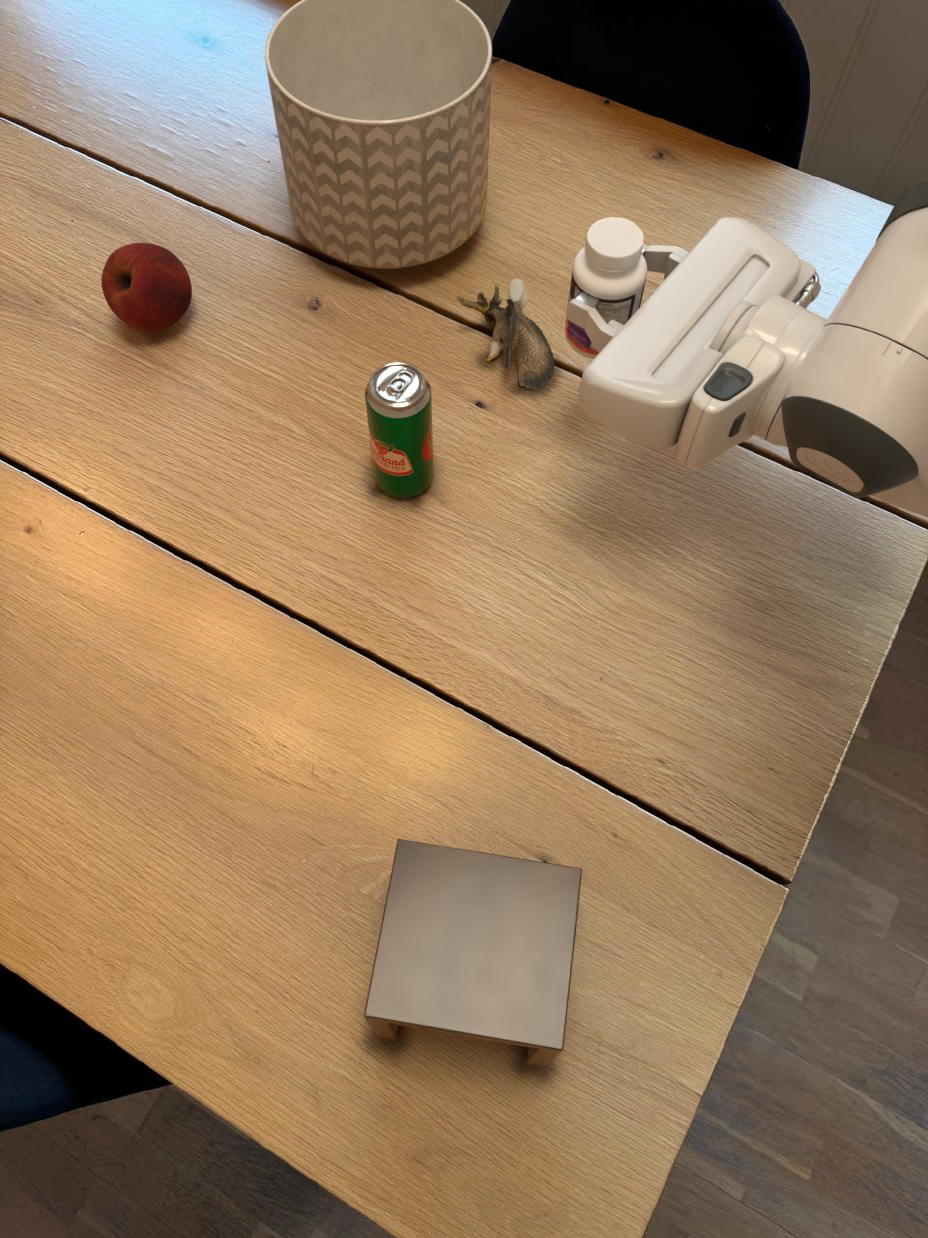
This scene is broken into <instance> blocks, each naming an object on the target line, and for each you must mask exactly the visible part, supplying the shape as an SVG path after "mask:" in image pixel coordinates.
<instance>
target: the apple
mask: <svg viewBox="0 0 928 1238" xmlns="http://www.w3.org/2000/svg"><path fill="white" fill-rule="evenodd" d="M101 289H102V293H103V297H104V298H105V301H106V303H107V305H108V307H109V309H110V310H111V311H112V312H113V314H114V315H115V316H116V318H118V319H119V320H120V321H121V322H123V323H124V324H125V325H127V326H129V328H132V329H134V330H138V331H141V332H144V333H159V332H161V331H164V330H167V329H169V328H171V327H173V326H174V325H176V324H177V323H178V322H180V320H181V319H182V318H183V317H184V316H185V315H186V313H187V311H188V310H189V307H190V305H191V301H192V296H193V286H192V281H191V279H190V275H189V273H188V271H187V268H186V266H185V265H184V264H183V263H182V261H181V260H180V258H178V256H177V255H175V253H173V252H172V251H171V250H169V249H167V248H166V247H164V246H161V245H159V244H155V243H150V242H149V243H148V242H133V243H129V244H125V245H123V246H120V247H118V248H117V249H115V250H114V251H112V253H110V255H109V256H108V258H107V259H106V261H105V264H104V266H103V269H102V273H101Z"/></svg>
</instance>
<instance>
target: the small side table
mask: <svg viewBox="0 0 928 1238" xmlns="http://www.w3.org/2000/svg"><path fill="white" fill-rule="evenodd" d="M582 876H583V869H582V868H581V867H575V866H570V865H563V864H558V863H551V862H545V861H538V860H532V859H528V858H519V857H514V856H508V855H501V854H496V853H489V852H484V851H483V852H482V851H477V850H470V849H464V848H459V847H452V846H445V845H439V844H434V843H426V842H420V841H414V840H408V839H400V838H398V839H397V841H396V846H395V851H394V857H393V862H392V866H391V873H390V876H389V877H390V878H389V882H388V887H387V888H388V889H387V892H386V898H385V904H384V908H383V914H382V919H381V924H380V930H379V934H378V940H377V945H376V950H375V955H374V961H373V965H372V971H371V976H370V981H369V986H368V992H367V997H366V1003H365V1007H364V1011H363V1012H364V1013H363V1017H364V1018H365V1020H366V1021H367V1023H368V1025H369V1026H370V1027H371V1029H372V1030H373V1032H374V1034H375V1035H376V1036H377V1038H380V1039H385V1040H392V1041H396V1040H397V1036H398V1030H399V1026H402V1027H408V1028H414V1029H419V1030H426V1031H432V1032H436V1033H437V1032H438V1033H443V1034H449V1035H455V1036H460V1037H466V1038H471V1039H478V1040H485V1041H489V1042H495V1043H501V1044H507V1045H513V1046H519V1047H523V1048H527V1057H526V1064H528V1065H534V1066H541V1067H545V1066H547V1065H548V1064H549V1063H550V1062H551V1061H552V1060H554V1059H556V1057H557V1056H558V1055H560V1054H561V1053H562V1052H563V1050H564V1045H565V1038H566V1037H565V1035H566V1027H567V1020H568V1019H567V1017H568V1007H569V1000H570V999H569V998H570V989H571V981H572V972H573V971H572V970H573V961H574V952H575V944H576V943H575V942H576V935H577V933H576V932H577V925H578V923H577V922H578V913H579V903H580V897H581V896H580V894H581V885H582Z"/></svg>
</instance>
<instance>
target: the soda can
mask: <svg viewBox="0 0 928 1238" xmlns="http://www.w3.org/2000/svg"><path fill="white" fill-rule="evenodd" d="M432 397H433V396H432V387H431V385H430V383H429V381H428V380H427V378H426V377H425V374H424V373H423V372H422V371H421V370H420V369H419V368H417V366H415V365H413V364H411V363H407V362H401V361H397V362H396V361H394V362H389V363H386V364H383V365H381V366H379V367H378V368H377V369H376V370H374V371H373V373H372V374H371V375H370V378H369V381H368V383H367V384H366V387H365V391H364V401H365V409H366V418H367V426H368V434H369V436H368V437H369V442H370V452H371V460H372V469H373V477H374V481H375V484H376V485H377V487H378V488H379V489H380V490H381V491H382V492H383V493H385V494H387V495H389V496H390V497H394V498H399V499H403V498H404V499H405V498H412V497H415V496H418V495H420V494H422V493H423V492H425V491H426V490H427V489H428V488H429V486H430V485H431V484H432V482H433V479H434V473H435V471H434V442H433V441H434V437H433V436H434V435H433V401H432V399H433V398H432Z"/></svg>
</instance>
